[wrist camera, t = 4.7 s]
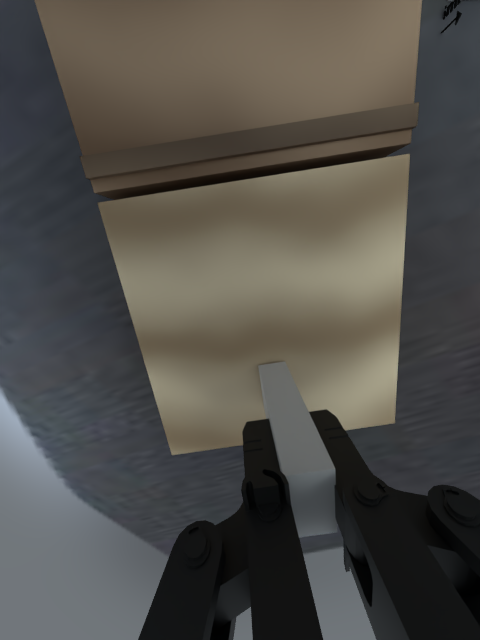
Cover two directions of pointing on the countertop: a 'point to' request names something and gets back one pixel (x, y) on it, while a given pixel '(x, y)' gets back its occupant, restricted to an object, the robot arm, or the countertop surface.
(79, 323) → the countertop surface
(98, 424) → the countertop surface
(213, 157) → the walnut board
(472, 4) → the countertop surface
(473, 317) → the countertop surface
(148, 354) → the oak plank
